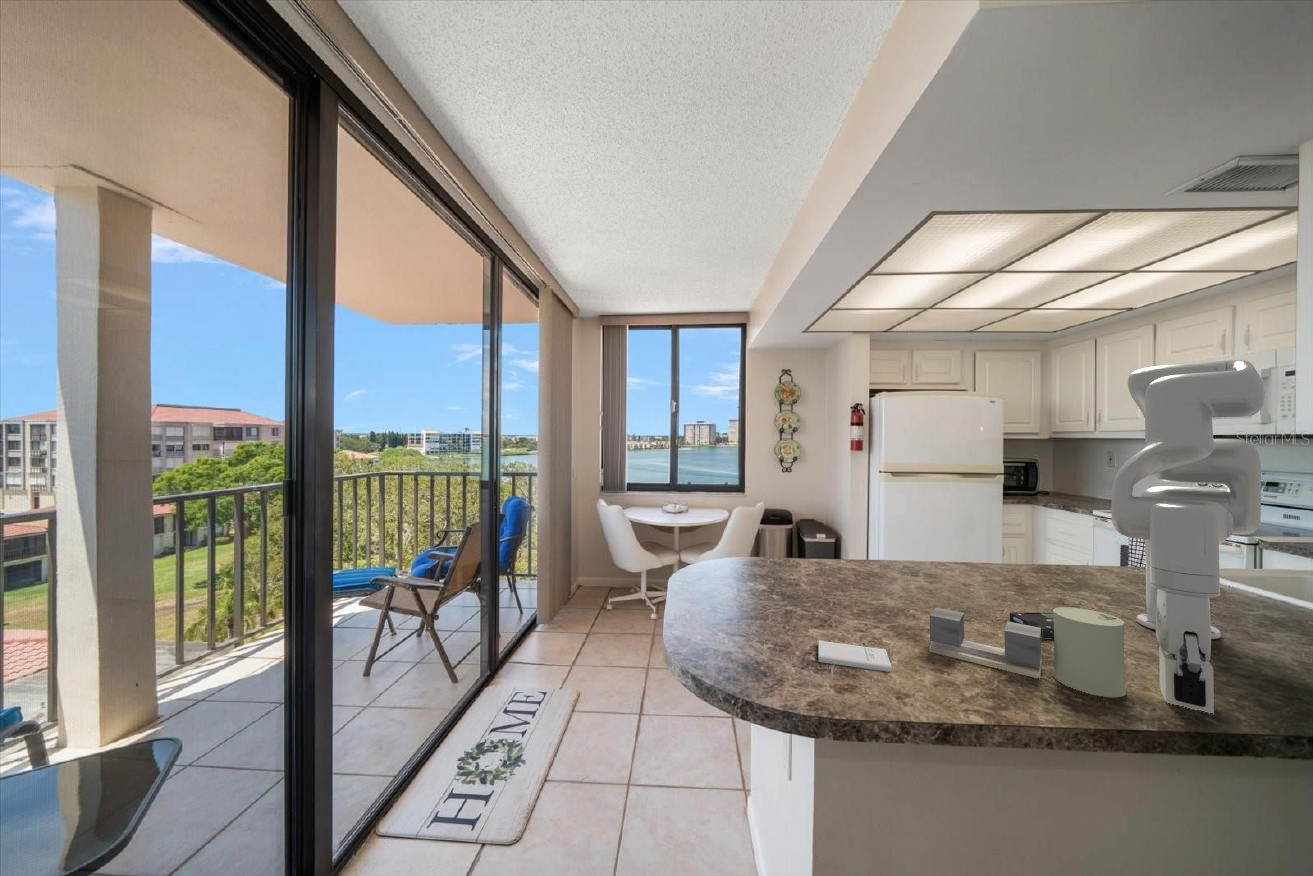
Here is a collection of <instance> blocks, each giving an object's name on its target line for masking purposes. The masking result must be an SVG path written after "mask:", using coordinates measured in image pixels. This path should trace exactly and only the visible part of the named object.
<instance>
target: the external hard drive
mask: <svg viewBox="0 0 1313 876" xmlns="http://www.w3.org/2000/svg"><path fill="white" fill-rule="evenodd" d="M818 662H819V663H824V664H832V665H840V666H846V667H852V668H853V667H854V668H860V669H866V670H872V671H873V670H874V671H875V670H876V671H882V672H888V673H892V664H891V661H890V659H889V656H888V652H887V650H886V648H885V649H884V648H876V647H869V646H863V645H855V644H848V643H841V642H835V641H834V642H832V641H826V640H825V641H824V640H818Z"/></svg>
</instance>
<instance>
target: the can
mask: <svg viewBox="0 0 1313 876" xmlns="http://www.w3.org/2000/svg"><path fill="white" fill-rule="evenodd" d="M1052 613H1053V615H1054V639H1053V640H1054V642H1053V644H1054V645H1053V647H1054V648H1053V649H1054V650H1053V654H1054V656H1053V657H1054V660H1053V661H1054V663H1053V678H1054V679H1055V680H1056V681H1057V682H1059V683H1060V682H1061V683H1060V684H1062V685H1064V686H1066V687H1067V688H1070V687H1071V688H1070V689H1072V688H1073V689H1072V690H1075V689H1076V690H1075V691H1078V692H1081V691H1082V692H1081V693H1084V692H1085V693H1084V694H1088V695H1093V696H1097V697H1102V696H1103V698H1115V699H1116V698H1122V697H1125V696H1126V694H1127V690H1126V684H1125V683H1126V682H1125V626H1126V623H1125V621H1124V620H1122V619H1121V618H1119V617H1117V616H1116V615H1115V616H1114V615H1112V614H1109V613H1105V612H1102V611H1097V610H1093V609H1088V608H1082V607H1081V608H1080V607H1072V606H1071V607H1069V606H1060V607H1055V608H1053V609H1052Z"/></svg>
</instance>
